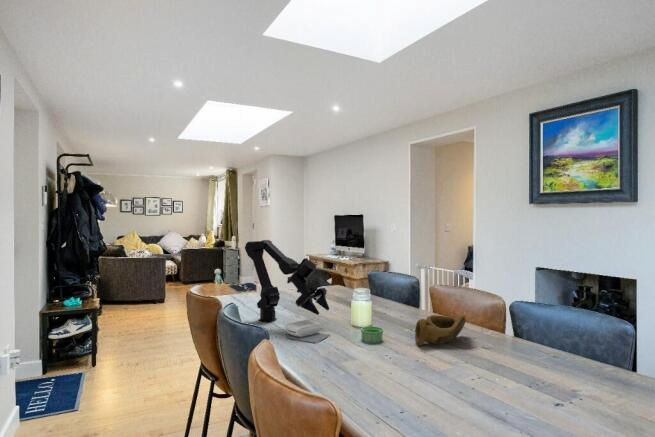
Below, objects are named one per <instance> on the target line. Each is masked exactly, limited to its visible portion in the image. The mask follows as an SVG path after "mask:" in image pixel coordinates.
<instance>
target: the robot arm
mask: <svg viewBox="0 0 655 437" xmlns="http://www.w3.org/2000/svg"><path fill="white" fill-rule="evenodd" d="M244 249H245V252H246V254H247V256H248V258H250V259H251V260H252V262H253V265H254V267H255V272H256V276H257V278H258V281H259V284H260V289H261V290H260V293H259V294H260V299H259V300H258V301H257V303H256V306H257V308H258V309H260V310H259V311H260V312H259V316H260V317H259V318H258V319H257V321H258V322H259V321H260V322H263V323H264V322H265V323H266V322H267V323H271V322H273V320H274V321H276V320H277V319H278V318H277V317H276V308H275V307H278V305H279V302H280V298H281V297H280V294H281V293H280V291H279V288H278V286H274V285H272V281H271V279H270V276H269V273H268V269H267V267H266V263H265V261H264V258H263V257H264V253H265V252H266V253H267V254H268V256H270V257H271V258H272V259H273V260H274V261H275V262H276V264H278V269H279V270H280V272H282V274H283V275H285V276H287V275H291V276H287V281H286V283H287V284H291V283H292V284H293V285H294V287H295V288H296V289H297V290H296V293H297V294H300V296H298V298H296V300H295V305H296V306H297V307H298V308H301V309H302V308H303V309H304V310H307V311H309V312H310V313H312V314H315V315H317V316H318V315H320V312H319V310H318V308H317V307H316V305H315V304H314V301H315V303H317V304H318V305H320V306H321V307H322V308H323V309H325V310H326V311H329V310H330V307H329V304H328V301H327V299H326V296H327V292H328V290H327V289H326V288H325V287H324V286H325V280H324V279H323V278H322V277H318V278H316V280H314V281H310V280H309V281H308V279H306V278H309V277H310V276H311V275H312V273H314V272H315V270H316V269H317V266H316V264H315V263H314V262H313V261H311V260H310V259H308V258H307V257H306V258H303V259H302V260H301V262H300V263H298V262H297V261H296V260H294V259H293V258H291V257H288V256H286V255H285V254H284V253H283V252H282V251H281V250H280V249H279V248H278V247H277V246H276V245H274V243H273V242H272V241H271V240H270V239H263V240H259V241H258V240H257V241H251V240H250V241H247V242H246V243H245V246H244ZM313 300H314V301H313Z"/></svg>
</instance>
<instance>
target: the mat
mask: <svg viewBox="0 0 655 437" xmlns="http://www.w3.org/2000/svg"><path fill="white" fill-rule="evenodd" d="M330 335H331V334H329V333H323V332H321V333H320V332H319V333H315V334H311V335H307V336H303V337H297V336H293V335H291V334H290V335H289V336H287V337H285V339H286V338H288V339H287V340H292V339H293V341H297V340H299V341H298V342H303V341H305V342H304V343H309V342H310V344H315V343H317V344H318V342H319V343H320V342H322V341H324V340H326V339H327V337H328V336H329V337H331V336H330ZM329 337H328V338H329ZM325 338H326V339H325ZM323 339H324V340H323Z"/></svg>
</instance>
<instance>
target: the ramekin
mask: <svg viewBox="0 0 655 437" xmlns="http://www.w3.org/2000/svg"><path fill="white" fill-rule="evenodd" d="M360 332H361V339H362V341H363V342H365V343H370V344H371V343H372V344H374V343H375V344H376V343H380V342H382V341H383V333H384V328H383V327H381V326H376V325H375V326H374V325H367V326H362V327H361V328H360Z"/></svg>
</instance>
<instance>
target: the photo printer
mask: <svg viewBox="0 0 655 437" xmlns="http://www.w3.org/2000/svg"><path fill="white" fill-rule="evenodd" d="M284 328H285V329H284V330H285V331H286V333H287V334H288V335H290V336H291V335H293V336H297V337H303V336H307V335H311V334H315V333H320V332H321V331H322V327H321V324H320V323H319V322H316V321H313V320H312V319H311V320H310V319H304V320H303V319H302V320H299V321H294V322H289V323H287V324H285V327H284Z"/></svg>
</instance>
